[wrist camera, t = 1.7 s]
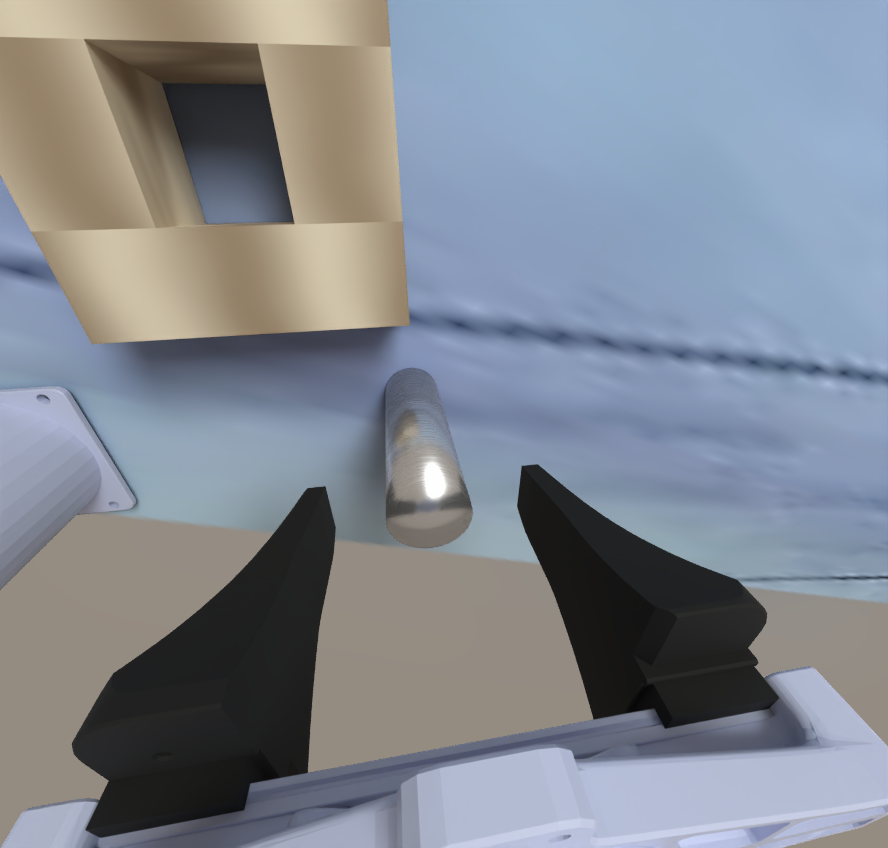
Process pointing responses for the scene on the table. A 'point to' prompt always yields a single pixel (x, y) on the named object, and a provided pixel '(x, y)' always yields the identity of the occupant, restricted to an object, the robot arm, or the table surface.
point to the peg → (422, 465)
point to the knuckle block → (167, 174)
